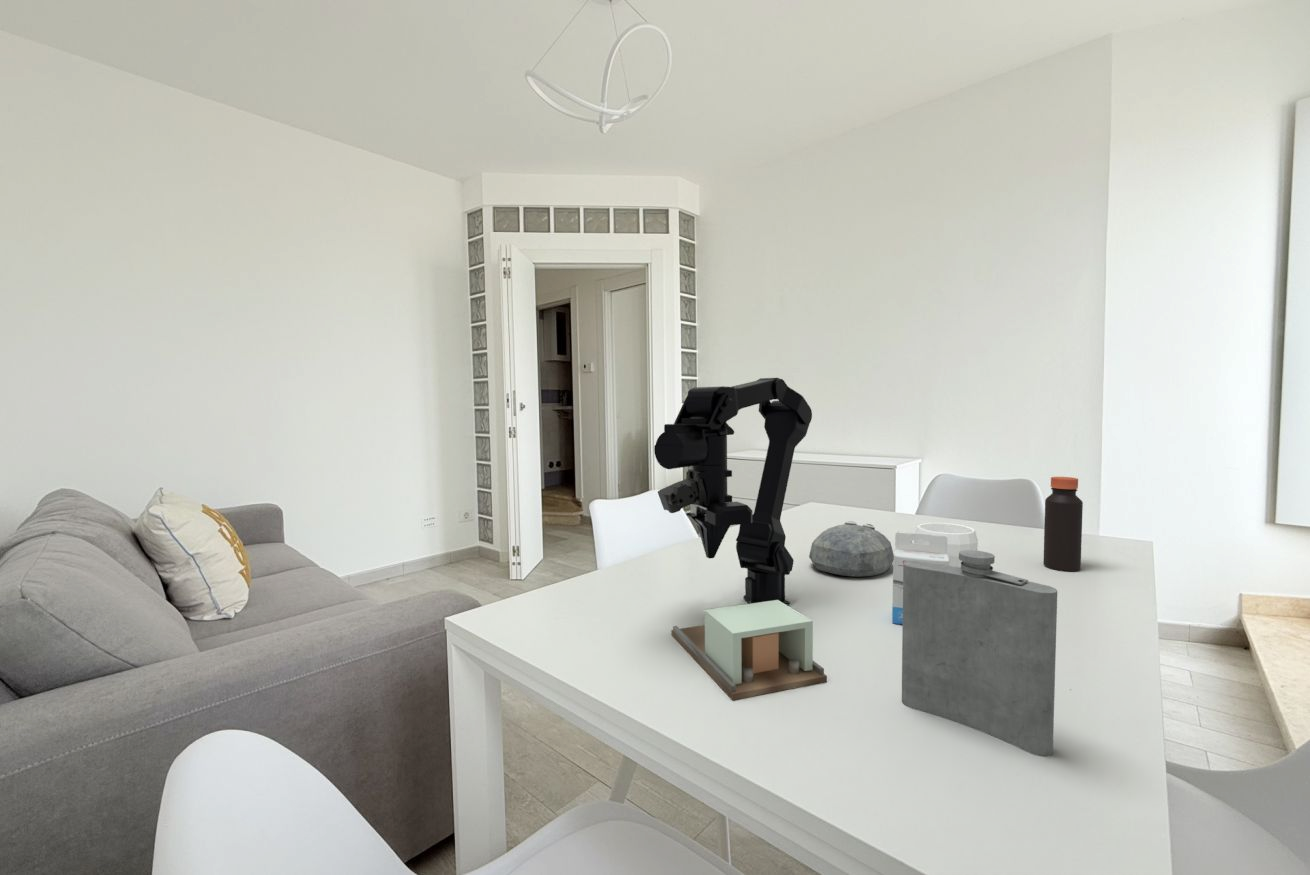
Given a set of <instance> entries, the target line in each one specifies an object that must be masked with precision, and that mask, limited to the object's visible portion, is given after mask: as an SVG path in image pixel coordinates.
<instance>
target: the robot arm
mask: <svg viewBox="0 0 1310 875" xmlns="http://www.w3.org/2000/svg"><path fill="white" fill-rule="evenodd" d="M772 400H773V401H772ZM755 405H758V413H759V414H760V415H761V416H762V417H763V419H764V427H763V428H764V430H765V433H766V435H767V438H768V445H767V450H766V455H765V459H764V465H763V471H762V473H761V474H762V475H761V477H760V478H761V479H760V483H759V486H758V487H759V488H758V493H757V497H756V502H755V506H754V511H753V509H751V507H750V506H749V505H747V504H745V503H743V502H740V501H733V495H732V494H731V495H730V494H728V478H730V477H733V470H732V469H729V468H728V436H731V435H732V436H733V435H734V434H735V430H734V428H732V427H731V426H730V425H729V424H728V423H727V422H729V421H730V420H731V419H733V418H735V417H736V416H738V414H739V411H740V410H741V409H745V408H748V407H752V406H755ZM812 418H813V412H812V408H811V406H810V405H809V403H808V402H807V401H806V398H805V397H804V396H803V395H802V394H800V393H798V391H796V390H794V389H793V388H791V387H789V385H787V383H786V382H785V380H784V379H783V378H779V377H762V378H761V377H760V378H758V379H757V380H755V381H754V380H753V381H749V382H746V383H741V384H737V385H732V386H724V385H723V386H698V387H697V386H696V387H692V388H691V389H689V390H688V391H687V395H686V398H685V399H684V401H683V404H682V406H681V408H680V410H679V411H678V414H677V416H676V418H675V421H674V422H673V423H666V424H665V423H664V425H663V426H664V428H663V432H662V433H661V434H660V435H659V436H658V437H657V439H656V441H655V442H656V443H655V445H654V447H653V448H654V449H653V451H654V456H655V459H656V462H657V463H658V464H659V465H660V467H662V468H664V469H666V470H674V469H681V468H688V467H691V468H688V469H687V471H686V475H685V479H682V480H679V481H677V482H675V483H672V484H670V485H668V486H666V487H664V488H661V489H660V490H658V491H657V494H658V497H659V500H660V503H661V506H662V508H663V510H664V511H668V513H670V514H675V513H677V512H680V511H681V509H684V508H686V507H688V506H690V512H687V513H686V514H685V516H687V518H689V519H690V520H691V521H692V522H694V523H695V525H696V528H697V529H698V532H699V537H700V538H701V543H702V545H703V546H702V547H703V550H704V554H705V557H706V558H708V559H714V558H715V557H716V555H717V553H718V550H719V549H720V547H721V544H722V542H723V540H724V538H725V535H726V534H727V532H728V530H729V529H730V527H731V526H738V525H739V529H738V534H737V537H736V539H735V541H736V545H735V549H736V553H737V558H738V561H739V562H738V563H739V566H740V568H741V569H746V570H747V571H746V572H747V576H746V577H745V578H744V579H745V582H744V583H745V584H744V585H745V587H744V588H745V592H744V594H745V595H743V599H744V600H745V601H747V602H748V603H749V604H751V603H758V602H766V601H773V600H779V601H781V602H782V603H784V604H786V605H787V606H789V605H790V603H791V602H790V601H789V600H787V599H786V587H785V586H786V575H787V576H788V575H790V574H791V572H792V571H793V567H794V561H795V559H794V558H793V557H792V555H791V553H790V552H789V550H788V549H787V548H786V538H787V537H786V534H785V531H784V528H783V525H782V522H781V516H782V511H783V506H784V503H785V497H786V492H787V487H788V483H789V479H790V478H789V477H790V472H791V468H792V464H793V463H792V462H793V459H794V453H795V449H796V447H797V446H798V445H799V444H800V442H801V441H802V440H803V439H804V438H805V437H806V436H807V434H808V429H809V427H810V424H811V422H812Z"/></svg>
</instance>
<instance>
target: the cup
mask: <svg viewBox="0 0 1310 875" xmlns="http://www.w3.org/2000/svg"><path fill="white" fill-rule="evenodd" d="M914 533H918V534H930V535H941V536H946V537H947V554H948V556H949V566H953V567H960V568H961V562H962V561H961V560H959V552H960V551H964V550H975V551H978V543H979V542H978V541H979V540H978V537H977V533H976V530H975V528H973V527H970V526H967V525H962V524H957V523H949V522H924V523H920V524H918V525H917V526H916V529H915V532H914ZM913 541H914V542H913V543H915V544H926V545H929V544H930V542H929V541H924V540H923V539H919V540H913Z"/></svg>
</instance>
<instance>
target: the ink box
mask: <svg viewBox="0 0 1310 875" xmlns="http://www.w3.org/2000/svg"><path fill="white" fill-rule="evenodd" d="M894 537H895V542H894V543H895V544H894V545H895V549H894V550H893V554H894V560H893V563H892V564H893V565H892V566H893V567H892V568H893V570H892V606H891V608H892V611H891V612H892V613H891V615H892V617H891V618H892V620H891V621H892V622H891V623H892V624H896V625H902V626H903V563H904V562H906V561H920V562H927V563H934V564H941V565H947V566H949V556H948V554H947V537H946V536H941V535H930V534H918V533H915V532H903V531H902V532H900V531H898V532H896V533H895V536H894ZM919 539H923V540H924V541H929V542H930V544H929V545H926V544H915V543H914V542H913V541H914V540H919Z"/></svg>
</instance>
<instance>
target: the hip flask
mask: <svg viewBox="0 0 1310 875" xmlns="http://www.w3.org/2000/svg"><path fill="white" fill-rule="evenodd" d="M995 558H996V557H995V555H994V554H993V553H990V552H987V551H983V550H977V551H975V550H964V551H960V552H959V560H961V561H962V562H961V568H960V567H953V566H947V565H941V564H934V563H927V562H920V561H906V562H904V563H903V625H902V631H901V632H902V636H901V637H902V638H901V640H902V642H901V643H902V644H901V645H902V646H901V649H902V650H901V652H902V653H901V654H902V655H901V703H902V704H903V705H904V706H906V707H908V708H910V709H913V710H916V711H917V710H918V711H920V712H924V713H927V714H930V715H934V716H937V717H941V718H943V719H947V720H948V721H951V722H954V723H958V724H960V725H963V726H966V727H969V728H971V729H974V730H976V731H979V732H982V733H983V734H987V735H990V736H991V737H993V738H996V739H999V740H1001V741H1003V742H1006V743H1008V744H1011V745H1012V746H1015V747H1016V748H1018V749H1021V750H1023V751H1024V752H1027V753H1029V754H1031V755H1035V756H1039V757H1048V756H1051V755H1052V754H1053V752H1054V725H1055V724H1054V721H1055V689H1056V688H1055V685H1056V683H1055V682H1056V655H1057V654H1056V653H1057V650H1056V649H1057V622H1058V621H1057V618H1058V615H1057V614H1058V590H1057V588H1055V587H1053V586H1050V585H1046V584H1041V583H1038V582H1034V581H1029V580H1028V579H1025V578H1022V577H1018V576H1015V575H1011V574H1006V573H1003V572H999V571H997V570H994V567H993V566H992V565H993V564H994V563H995V562H996V561H995Z"/></svg>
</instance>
